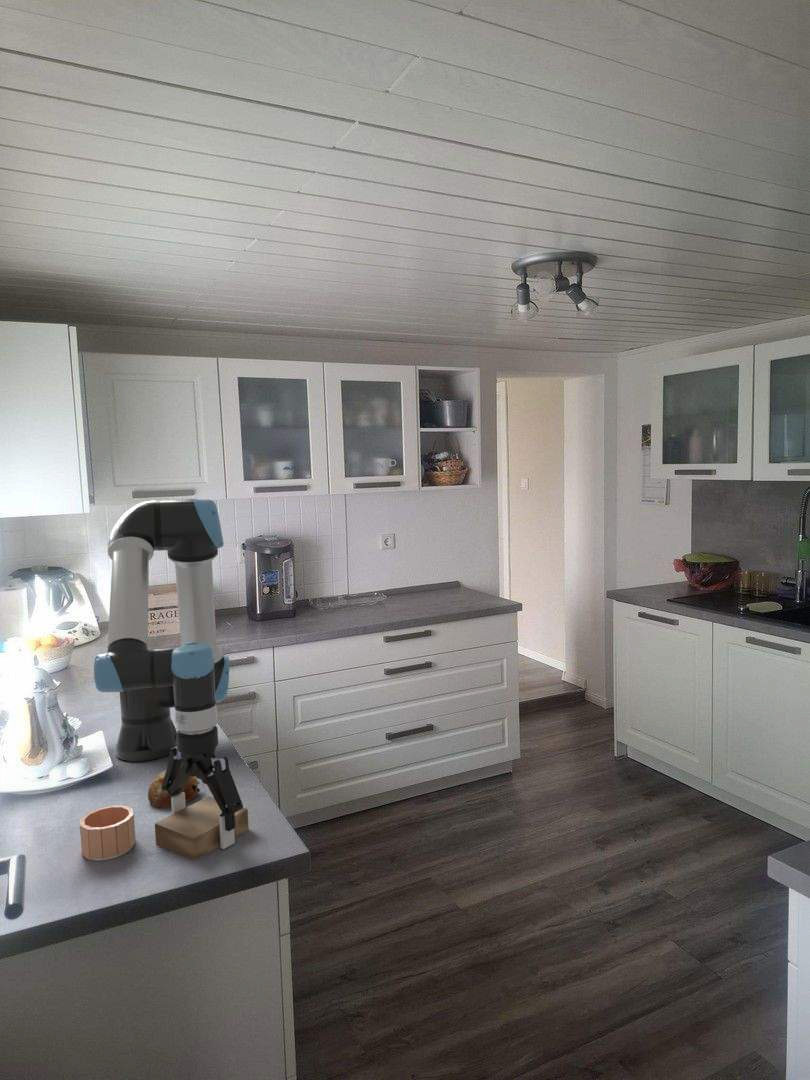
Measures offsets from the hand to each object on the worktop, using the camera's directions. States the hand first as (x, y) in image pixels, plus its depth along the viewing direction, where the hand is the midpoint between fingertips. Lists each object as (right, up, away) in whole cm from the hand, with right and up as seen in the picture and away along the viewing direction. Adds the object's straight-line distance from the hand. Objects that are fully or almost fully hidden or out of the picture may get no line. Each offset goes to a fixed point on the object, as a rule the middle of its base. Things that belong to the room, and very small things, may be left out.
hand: (203, 836), depth 136 cm
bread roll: (-11, +1, +18) cm, 21 cm away
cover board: (0, -1, 0) cm, 1 cm away
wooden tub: (-17, -1, -3) cm, 17 cm away
